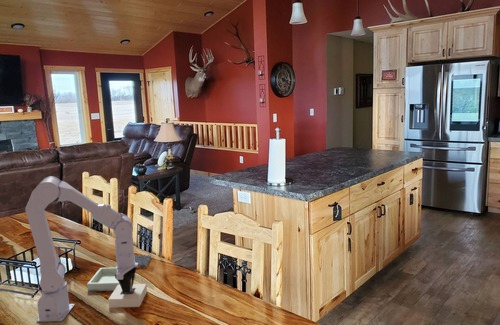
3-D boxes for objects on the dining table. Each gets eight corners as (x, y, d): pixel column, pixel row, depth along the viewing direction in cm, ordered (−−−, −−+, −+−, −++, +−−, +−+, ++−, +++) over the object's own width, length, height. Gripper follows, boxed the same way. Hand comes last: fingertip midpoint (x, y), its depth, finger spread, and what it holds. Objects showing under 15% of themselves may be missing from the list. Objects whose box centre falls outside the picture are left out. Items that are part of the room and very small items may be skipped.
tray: (124, 290, 139) (123, 282, 138) (87, 291, 139) (87, 283, 138) (134, 273, 152) (133, 266, 151) (101, 274, 152) (100, 267, 151)
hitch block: (139, 306, 128) (138, 298, 127) (109, 307, 128) (108, 299, 127) (146, 291, 138) (146, 283, 137) (118, 292, 138) (118, 284, 137)
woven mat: (120, 270, 156) (120, 265, 156) (128, 259, 166) (128, 254, 166) (146, 269, 156) (145, 265, 156) (152, 258, 166) (152, 254, 166)
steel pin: (131, 301, 131) (130, 280, 130) (123, 301, 131) (121, 280, 130) (134, 296, 134) (132, 276, 133) (125, 297, 134) (124, 276, 133)
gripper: (130, 260, 123) (133, 300, 125) (142, 243, 137) (145, 279, 139) (108, 261, 122) (111, 300, 125) (122, 243, 137) (125, 279, 139)
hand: (127, 289), depth 132 cm, fingers closed on steel pin, 3 cm apart
